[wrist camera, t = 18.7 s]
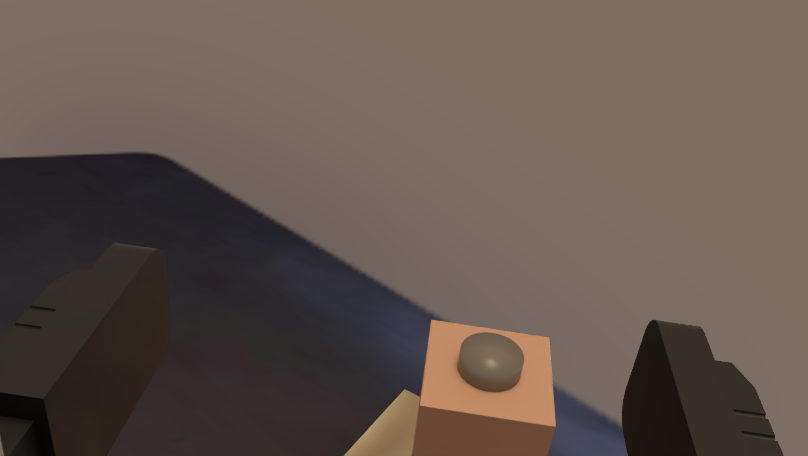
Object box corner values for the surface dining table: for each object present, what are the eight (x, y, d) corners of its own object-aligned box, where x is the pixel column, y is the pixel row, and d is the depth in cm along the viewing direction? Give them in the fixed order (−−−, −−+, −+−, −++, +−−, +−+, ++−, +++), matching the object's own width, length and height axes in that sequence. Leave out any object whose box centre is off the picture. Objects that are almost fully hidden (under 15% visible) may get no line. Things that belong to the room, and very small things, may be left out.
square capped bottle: (398, 544, 38) (422, 389, 32) (411, 453, 43) (433, 304, 37) (515, 563, 38) (560, 410, 32) (514, 469, 43) (553, 322, 37)
